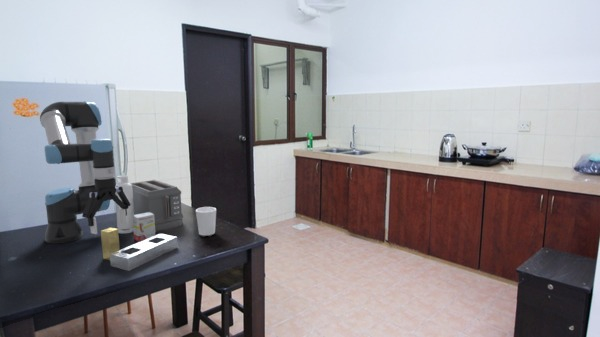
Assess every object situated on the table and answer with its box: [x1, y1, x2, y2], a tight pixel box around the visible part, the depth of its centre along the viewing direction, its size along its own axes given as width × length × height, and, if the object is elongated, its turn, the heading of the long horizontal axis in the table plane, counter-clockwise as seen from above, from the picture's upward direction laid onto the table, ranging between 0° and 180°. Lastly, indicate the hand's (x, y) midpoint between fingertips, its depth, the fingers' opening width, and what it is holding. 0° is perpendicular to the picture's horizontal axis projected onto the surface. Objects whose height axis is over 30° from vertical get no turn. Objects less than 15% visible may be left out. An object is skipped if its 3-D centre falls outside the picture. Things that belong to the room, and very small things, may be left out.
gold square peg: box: [100, 227, 121, 261], centre depth 153 cm, size 4×4×12 cm
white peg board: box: [109, 233, 179, 272], centre depth 155 cm, size 10×26×5 cm, turn 155°
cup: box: [195, 206, 217, 238], centre depth 180 cm, size 10×10×13 cm
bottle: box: [114, 174, 134, 234], centre depth 184 cm, size 8×8×28 cm
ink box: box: [133, 212, 157, 243], centre depth 175 cm, size 9×5×12 cm, turn 136°
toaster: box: [129, 179, 184, 232], centre depth 199 cm, size 19×34×20 cm, turn 46°
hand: (109, 228), depth 152 cm, fingers open, 13 cm apart
